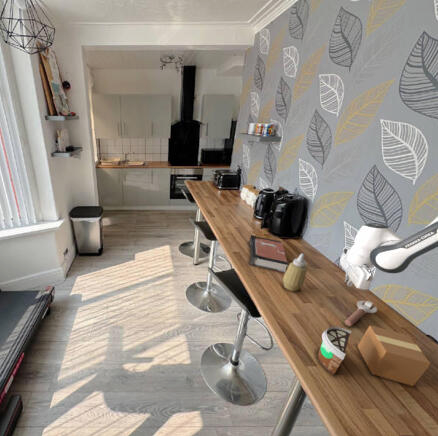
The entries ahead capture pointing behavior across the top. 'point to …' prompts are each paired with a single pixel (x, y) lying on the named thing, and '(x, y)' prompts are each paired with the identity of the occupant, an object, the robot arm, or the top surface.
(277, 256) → the book
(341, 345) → the food container
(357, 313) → the pizza cutter
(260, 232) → the top surface
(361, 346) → the carton
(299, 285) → the squeeze bottle
